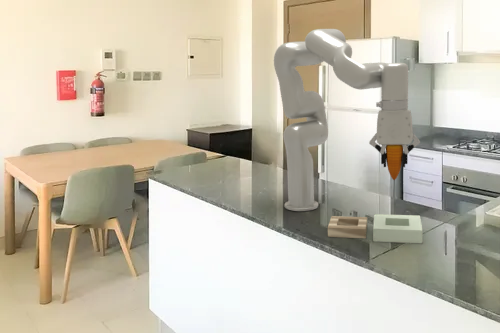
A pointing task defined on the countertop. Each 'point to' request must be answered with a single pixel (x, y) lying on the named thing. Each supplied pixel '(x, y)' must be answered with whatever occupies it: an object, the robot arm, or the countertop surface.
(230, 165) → the countertop surface
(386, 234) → the pale green square frame
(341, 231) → the socket block
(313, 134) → the robot arm
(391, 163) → the carrot
